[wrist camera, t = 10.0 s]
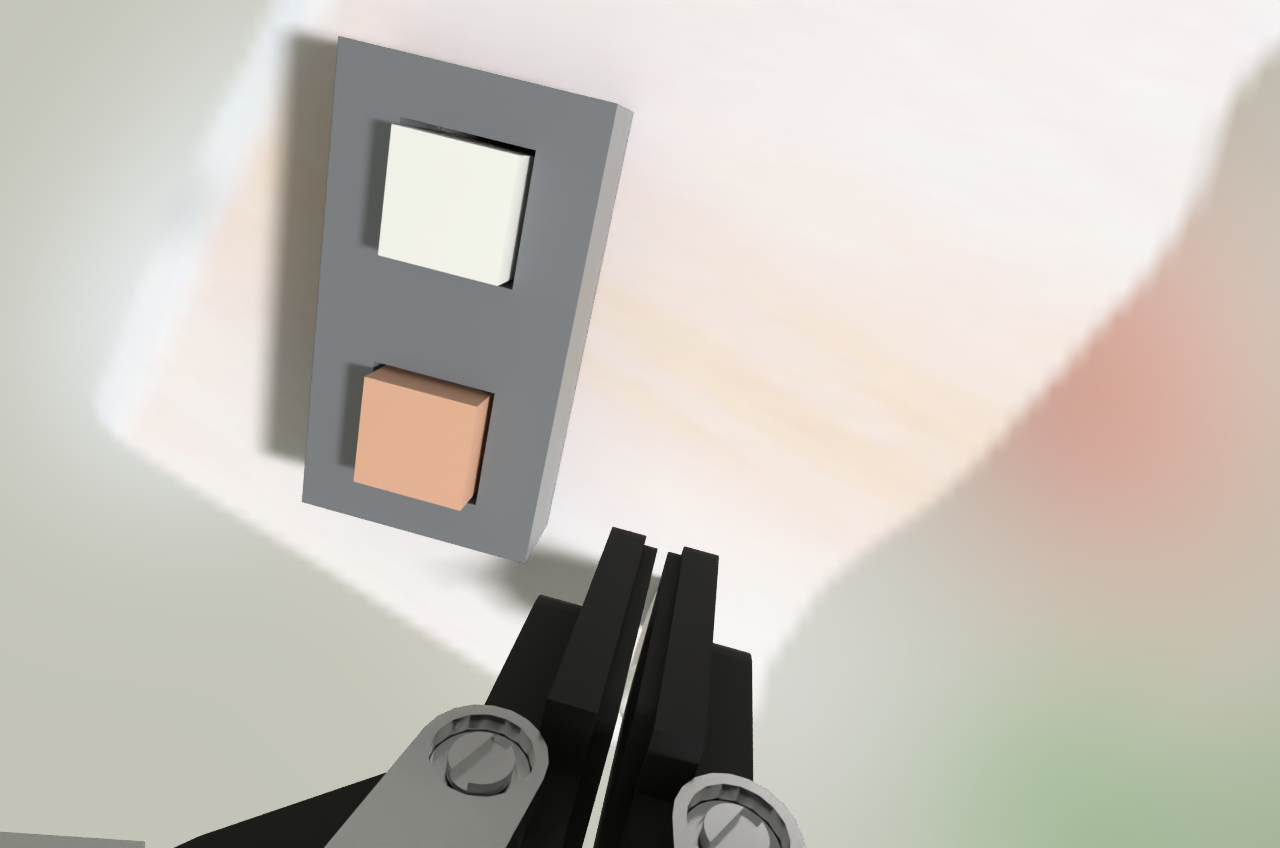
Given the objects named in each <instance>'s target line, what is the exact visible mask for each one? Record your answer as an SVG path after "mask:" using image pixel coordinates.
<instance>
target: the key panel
mask: <svg viewBox="0 0 1280 848" xmlns="http://www.w3.org/2000/svg"><path fill="white" fill-rule="evenodd" d="M632 117H633V112H632V111H630V110H628V109H626V108H625V107H623V106H621V105H619V104H616V103H612V102H608V101H604V100H600V99H595V98H591V97H587V96H583V95H579V94H575V93H571V92H567V91H563V90H558V89H554V88H550V87H546V86H542V85H538V84H534V83H530V82H526V81H521V80H517V79H513V78H509V77H505V76H501V75H497V74H493V73H488V72H484V71H480V70H476V69H472V68H468V67H464V66H460V65H456V64H451V63H447V62H443V61H439V60H435V59H431V58H427V57H423V56H419V55H414V54H410V53H406V52H402V51H398V50H394V49H390V48H386V47H381V46H377V45H373V44H369V43H365V42H361V41H357V40H353V39H349V38H344V37H340V36H338V48H337V60H336V73H335V86H334V99H333V112H332V124H331V137H330V150H329V163H328V175H327V188H326V201H325V214H324V226H323V239H322V252H321V265H320V278H319V290H318V303H317V316H316V329H315V341H314V354H313V367H312V380H311V392H310V405H309V418H308V431H307V444H306V456H305V469H304V482H303V495H302V502H304V503H308V504H311V505H315V506H318V507H322V508H326V509H329V510H333V511H336V512H340V513H344V514H347V515H351V516H354V517H358V518H362V519H365V520H369V521H372V522H376V523H380V524H383V525H387V526H390V527H394V528H398V529H401V530H405V531H408V532H412V533H415V534H419V535H423V536H426V537H430V538H433V539H437V540H441V541H444V542H448V543H451V544H455V545H459V546H462V547H466V548H469V549H473V550H477V551H480V552H484V553H487V554H491V555H495V556H498V557H502V558H505V559H509V560H513V561H516V562H520V563H523V564H525V563H526V561H527V559H528V557H529V556H530V554H531V552H532V550H533V549H534V547H535V545H536V543H537V542H538V540H539V538H540V536H541V534H542V533H543V531H544V529H545V527H546V526H547V523H548V518H549V514H550V509H551V504H552V499H553V494H554V490H555V485H556V480H557V475H558V471H559V466H560V461H561V456H562V451H563V447H564V442H565V437H566V432H567V428H568V423H569V418H570V413H571V408H572V404H573V399H574V394H575V389H576V385H577V380H578V375H579V370H580V366H581V361H582V356H583V351H584V346H585V342H586V337H587V332H588V327H589V323H590V318H591V313H592V308H593V303H594V299H595V294H596V289H597V284H598V280H599V275H600V270H601V265H602V260H603V256H604V251H605V246H606V241H607V237H608V232H609V227H610V222H611V218H612V213H613V208H614V203H615V198H616V194H617V189H618V184H619V179H620V175H621V170H622V165H623V160H624V155H625V151H626V146H627V141H628V136H629V132H630V127H631V122H632ZM392 124H397V125H404V126H411V127H419V128H426V129H432V130H436V131H440V129H441V127H444V128H448V129H452V130H456V131H460V132H464V133H468V134H472V135H476V136H480V137H484V138H488V139H492V140H496V141H500V142H504V143H508V144H512V145H516V146H520V147H525V148H529V149H533V150H536V153H535V159H534V165H533V171H532V177H531V183H530V188H529V194H528V200H527V206H526V212H525V218H524V224H523V230H522V236H521V241H520V247H519V253H518V259H517V265H516V271H515V277H514V279H511V280H509V281H507V282H505V283H503V284H501V285H498V286H495V285H492V284H488V283H484V282H480V281H476V280H472V279H468V278H464V277H461V276H457V275H453V274H449V273H445V272H441V271H437V270H433V269H430V268H426V267H422V266H418V265H414V264H410V263H406V262H403V261H399V260H395V259H391V258H387V257H383V256H379V255H378V249H379V240H380V230H381V221H382V211H383V202H384V192H385V182H386V173H387V163H388V154H389V144H390V135H391V125H392ZM385 365H390V366H393V367H397V368H401V369H405V370H408V371H412V372H416V373H420V374H423V375H427V376H431V377H435V378H439V379H442V380H446V381H450V382H454V383H457V384H461V385H465V386H469V387H472V388H476V389H480V390H484V391H487V392H491V393H495V395H494V400H493V406H492V412H491V418H490V424H489V430H488V436H487V442H486V448H485V453H484V459H483V465H482V471H481V477H480V483H479V489H478V490H477V492H476V493H475V494H474V495H473V496H472V498H471V499H470V500H469V501H468V502H467V503H466V505H465V506H464V507H463V508H462V509H461V511H459V510H455V509H452V508H448V507H444V506H441V505H437V504H433V503H430V502H426V501H423V500H419V499H415V498H412V497H408V496H404V495H401V494H397V493H393V492H390V491H386V490H383V489H379V488H375V487H372V486H368V485H364V484H361V483H357V482H354V471H355V462H356V452H357V443H358V433H359V423H360V414H361V404H362V395H363V385H364V377H365V376H367V375H369V374H370V373H372V372H374V371H376V370H378V369H380V368H382V367H383V366H385Z"/></svg>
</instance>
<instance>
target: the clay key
mask: <svg viewBox="0 0 1280 848" xmlns="http://www.w3.org/2000/svg"><path fill="white" fill-rule="evenodd" d="M494 395H495V393H491V392H487V391H484V390H480V389H476V388H472V387H469V386H465V385H461V384H457V383H454V382H450V381H446V380H442V379H439V378H435V377H431V376H427V375H423V374H420V373H416V372H412V371H408V370H405V369H401V368H397V367H393V366H390V365H385V366H383V367H382V368H380V369H378V370H376V371H374V372H372V373H370V374H369V375H367V376H365V377H364V385H363V395H362V404H361V414H360V423H359V433H358V443H357V452H356V462H355V471H354V482H357V483H361V484H364V485H368V486H372V487H375V488H379V489H383V490H386V491H390V492H393V493H397V494H401V495H404V496H408V497H412V498H415V499H419V500H423V501H426V502H430V503H433V504H437V505H441V506H444V507H448V508H452V509H455V510H459V511H461V509H462V508H463V507H464V506H465V505H466V503H467V502H468V501H469V500H470V499H471V498H472V496H473V495H474V494H475V493H476V492H477V490H478V489H479V483H480V477H481V471H482V465H483V459H484V453H485V448H486V442H487V436H488V430H489V424H490V418H491V412H492V406H493V400H494Z"/></svg>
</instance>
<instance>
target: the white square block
mask: <svg viewBox="0 0 1280 848" xmlns="http://www.w3.org/2000/svg"><path fill="white" fill-rule="evenodd" d="M534 159H535V155H533V154H529V153H525V152H521V151H517V150H513V149H509V148H505V147H501V146H497V145H493V144H489V143H485V142H481V141H477V140H472V139H468V138H464V137H460V136H456V135H452V134H448V133H444V132H440V131H436V130H432V129H426V128H419V127H411V126H404V125H397V124H392V125H391V135H390V144H389V154H388V163H387V173H386V182H385V192H384V202H383V211H382V221H381V230H380V240H379V249H378V255H379V256H383V257H387V258H391V259H395V260H399V261H403V262H406V263H410V264H414V265H418V266H422V267H426V268H430V269H433V270H437V271H441V272H445V273H449V274H453V275H457V276H461V277H464V278H468V279H472V280H476V281H480V282H484V283H488V284H492V285H495V286H498V285H501V284H503V283H505V282H507V281H509V280H511V279H514V277H515V271H516V265H517V259H518V253H519V247H520V241H521V236H522V230H523V224H524V218H525V212H526V206H527V200H528V194H529V188H530V183H531V177H532V171H533V165H534Z"/></svg>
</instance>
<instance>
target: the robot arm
mask: <svg viewBox="0 0 1280 848" xmlns="http://www.w3.org/2000/svg"><path fill="white" fill-rule="evenodd" d="M645 540H646V536H645V535H641V534H637V533H634V532H630V531H626V530H623V529H619V528H615V527H612V530H611V532H610V535H609V538H608V540H607V543H606V545H605V548H604V551H603V553H602V556H601V559H600V561H599V564H598V567H597V569H596V572H595V574H594V577H593V580H592V582H591V585H590V588H589V590H588V593H587V596H586V598H585V601H584V604H583V606H579V605H576V604H572V603H569V602H565V601H561V600H558V599H554V598H551V597H547V596H544V595H539V596H538V598H537V600H536V601H535V603H534V605H533V607H532V609H531V611H530V613H529V615H528V617H527V619H526V622H525V624H524V626H523V628H522V630H521V632H520V634H519V636H518V638H517V640H516V642H515V644H514V646H513V648H512V650H511V652H510V654H509V656H508V658H507V660H506V662H505V664H504V666H503V668H502V670H501V672H500V674H499V676H498V678H497V680H496V682H495V684H494V686H493V688H492V691H491V693H490V695H489V697H488V699H487V701H486V703H485V705H469V706H463V707H458V708H454V709H452V710H450V711H447V712H445V713H443V714H441V715H439V716H437V717H436V718H435V719H434V720H432V721H431V722H430V723H429V724H428V725H427V726H425V727H424V728H423V730H422V731H421V732H420V733H419V734H418V736H417V737H416V738H415V739H414V740H413V742H412V743H411V744H410V745H409V746H408V748H407V749H406V750H405V751H404V752H403V754H402V755H401V756H400V757H399V759H398V760H397V761H396V762H395V763H394V765H393V766H392V767H391V768H390V769H389V770H388V772H387V773H383V774H381V775H378V776H375V777H372V778H369V779H366V780H363V781H360V782H357V783H354V784H351V785H348V786H345V787H342V788H339V789H337V790H334V791H331V792H328V793H325V794H322V795H319V796H316V797H313V798H310V799H307V800H304V801H301V802H298V803H296V804H293V805H290V806H287V807H284V808H281V809H278V810H275V811H272V812H269V813H266V814H263V815H261V816H257V817H254V818H251V819H249V820H246V821H242V822H240V823H237V824H234V825H231V826H228V827H225V828H222V829H219V830H216V831H213V832H210V833H207V834H204V835H201V836H199V837H196V838H194V839H192V840H190V841H188V842H186V843H184V844H181V845H179V846H177V847H175V848H582V845H583V842H584V838H585V834H586V831H587V827H588V823H589V820H590V816H591V813H592V809H593V805H594V801H595V798H596V794H597V791H598V787H599V784H600V780H601V776H602V773H603V769H604V765H605V762H606V758H607V754H608V751H609V747H610V744H611V740H612V736H613V732H614V729H615V725H616V721H617V717H618V713H619V709H620V705H621V701H622V697H623V692H624V688H625V684H626V680H627V676H628V671H629V667H630V663H631V659H632V654H633V650H634V646H635V642H636V638H637V633H638V629H639V625H640V621H641V617H642V612H643V608H644V604H645V600H646V595H647V591H648V587H649V583H650V579H651V574H652V570H653V566H654V562H655V558H656V553H657V548H653V547H649V546H646V545H644V544H645ZM718 562H719V556H718V555H714V554H710V553H707V552H703V551H699V550H696V549H692V548H688V547H685V546H684V548H683V551H682V554H681V555H679V554H675V553H671V552H668V555H667V558H666V561H665V565H664V569H663V572H662V576H661V579H660V583H659V587H658V590H657V594H656V597H655V601H654V605H653V608H652V612H651V615H650V619H649V623H648V626H647V630H646V633H645V637H644V641H643V644H642V648H641V651H640V655H639V659H638V662H637V666H636V669H635V673H634V677H633V680H632V684H631V687H630V691H629V695H628V699H627V703H626V706H625V711H624V715H623V719H622V723H621V728H620V732H619V737H618V741H617V745H616V750H615V754H614V759H613V763H612V767H611V772H610V776H609V781H608V785H607V790H606V794H605V798H604V803H603V807H602V811H601V816H600V821H599V825H598V829H597V834H596V838H595V842H594V847H593V848H806V847H805V843H804V839H803V836H802V834H801V832H800V829H799V827H798V824H797V822H796V820H795V818H794V817H793V816H792V815H791V813H790V812H789V810H788V809H787V807H786V806H785V805H784V803H782V802H781V801H780V800H779V799H778V798H776V797H775V796H774V795H773V794H772V793H771V792H769V790H767V789H766V788H763V787H762V786H760V785H758V784H756V783H755V782H753V717H752V658H751V655H750V653H747V652H744V651H740V650H736V649H733V648H729V647H726V646H722V645H719V644H715V643H713V630H714V617H715V603H716V589H717V576H718ZM0 848H145V842H143V841H128V840H113V839H98V838H84V837H69V836H54V835H39V834H25V833H10V832H0Z"/></svg>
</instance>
